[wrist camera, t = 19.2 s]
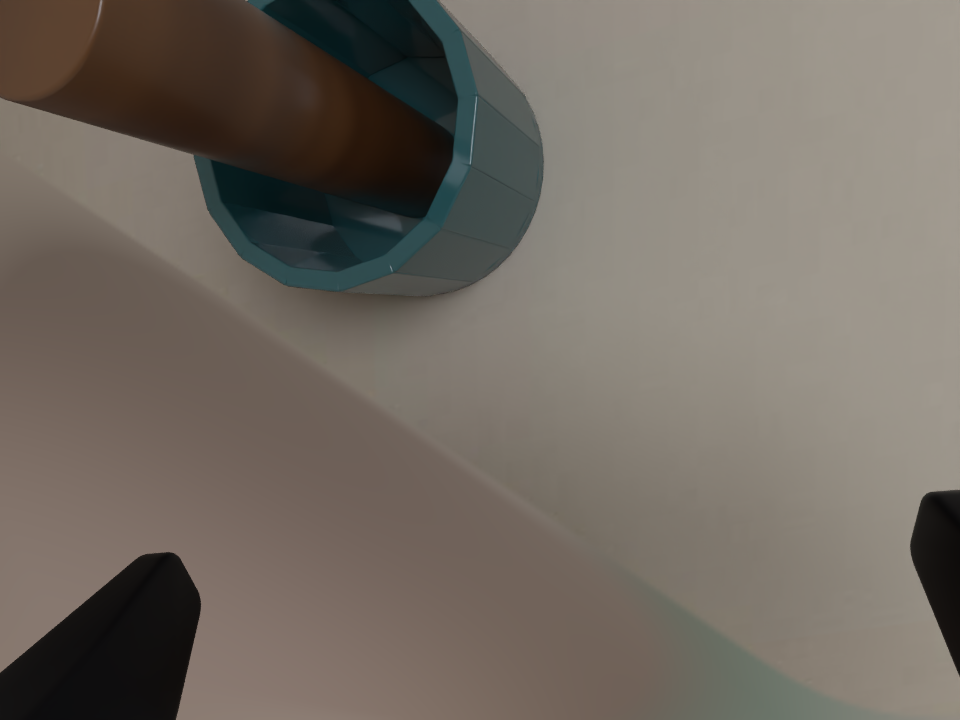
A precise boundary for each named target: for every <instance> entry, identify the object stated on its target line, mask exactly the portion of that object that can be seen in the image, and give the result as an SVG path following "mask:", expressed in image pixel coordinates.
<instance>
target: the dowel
mask: <svg viewBox="0 0 960 720" xmlns="http://www.w3.org/2000/svg"><path fill="white" fill-rule="evenodd" d="M0 97H1V98H3V99H5V100H8V101H12V102H15V103H19V104H22V105H25V106H29V107H32V108H36V109H39V110H43V111H46V112H49V113H53V114H56V115H60V116H63V117H67V118H70V119H73V120H77V121H80V122H84V123H87V124H91V125H94V126H97V127H101V128H104V129H108V130H111V131H115V132H118V133H121V134H125V135H128V136H132V137H135V138H139V139H142V140H145V141H149V142H152V143H156V144H159V145H163V146H166V147H169V148H173V149H176V150H180V151H183V152H187V153H190V154H193V155H197V156H200V157H204V158H207V159H211V160H214V161H217V162H221V163H224V164H228V165H231V166H235V167H238V168H241V169H245V170H248V171H252V172H255V173H259V174H262V175H265V176H269V177H272V178H276V179H279V180H283V181H286V182H289V183H293V184H296V185H300V186H303V187H307V188H310V189H313V190H317V191H320V192H324V193H327V194H331V195H334V196H337V197H341V198H344V199H348V200H351V201H355V202H358V203H361V204H365V205H368V206H372V207H375V208H379V209H382V210H385V211H389V212H392V213H396V214H399V215H403V216H406V217H412V218H419V217H425V216H426V214H427V212H428V210H429V208H430V206H431V204H432V202H433V200H434V198H435V196H436V193H437V191H438V189H439V187H440V185H441V183H442V181H443V179H444V177H445V175H446V172H447V170H448V168H449V166H450V164H451V162H452V155H453V145H454V138H453V136H452V135H451V134H450V133H449V132H448V131H447V130H446V129H445V128H444V127H442V126H441V125H439V124H438V123H436V122H435V121H433V120H431V119H430V118H428V117H427V116H425V115H424V114H422V113H421V112H419V111H417V110H416V109H414V108H413V107H411V106H410V105H408V104H406V103H405V102H403V101H402V100H400V99H399V98H397V97H396V96H394V95H392V94H391V93H389V92H388V91H386V90H385V89H383V88H381V87H380V86H378V85H377V84H375V83H374V82H372V81H370V80H369V79H367V78H366V77H364V76H363V75H361V74H360V73H358V72H356V71H355V70H353V69H352V68H350V67H349V66H347V65H345V64H344V63H342V62H341V61H339V60H338V59H336V58H335V57H333V56H331V55H330V54H328V53H327V52H325V51H324V50H322V49H320V48H319V47H317V46H316V45H314V44H313V43H311V42H309V41H308V40H306V39H305V38H303V37H302V36H300V35H299V34H297V33H295V32H294V31H292V30H291V29H289V28H288V27H286V26H284V25H283V24H281V23H280V22H278V21H277V20H275V19H274V18H272V17H270V16H269V15H267V14H266V13H264V12H263V11H261V10H259V9H258V8H256V7H255V6H253V5H252V4H250V3H248V2H247V1H245V0H0Z"/></svg>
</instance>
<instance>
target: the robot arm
mask: <svg viewBox="0 0 960 720" xmlns="http://www.w3.org/2000/svg"><path fill="white" fill-rule="evenodd" d="M910 550H911V556H912V560H913V563H914V566H915V569H916V571H917V573H918V576H919V578H920V581H921V583H922V586H923V588H924V591H925V593H926V595H927V598H928V600H929V603H930V605H931V608H932V610H933V613H934V615H935V618H936V620H937V622H938V625H939V627H940V630H941V632H942V635H943V637H944V640H945V642H946V644H947V647H948V649H949V652H950V654H951V657H952V659H953V662H954V664H955V666H956V669H957V671H958V674H959V676H960V490H950V491H937V492H930V493H927V494H926V495H925V496H924V497H923V498H922V500H921V503H920V507H919V511H918V515H917V518H916V522H915V526H914V530H913V534H912V538H911V544H910ZM200 610H201V601H200V596H199V593H198V590H197V588H196V587H195V585H194V583H193V581H192V579H191V577H190V576H189V574H188V572H187V570H186V568H185V566H184V565H183V563H182V561H181V559H180V558H179V557H178V556H177V555H175V554H174V553H170V552H166V553H154V554H145V555H142V556H140V557H138V558H137V559H136V560H134V561H133V562H132V563H131V564H130V565H129V566H127V567H126V568H125V569H124V570H122V571H121V572H120V573H119V574H118V575H117V576H115V577H114V578H113V579H112V580H111V581H109V582H108V583H107V584H106V585H105V586H103V587H102V588H101V589H100V590H99V591H97V592H96V593H95V594H94V595H93V596H91V597H90V598H89V599H88V600H87V601H85V602H84V603H83V604H82V605H81V606H79V607H78V608H77V609H76V610H75V611H73V612H72V613H71V614H70V615H69V616H68V617H66V618H65V619H64V620H63V621H62V622H60V623H59V624H58V625H57V626H56V627H54V629H52V630H51V631H50V632H48V633H47V634H46V635H45V636H44V637H42V638H41V639H40V640H39V641H38V642H36V643H35V644H34V645H33V646H32V647H31V648H29V649H28V650H27V651H26V652H25V653H23V654H22V655H21V656H20V657H19V658H17V659H16V660H15V661H14V662H13V663H12V664H10V665H9V666H8V667H7V668H6V669H4V670H3V671H2V672H1V673H0V720H176V716H177V713H178V709H179V704H180V700H181V695H182V691H183V687H184V682H185V677H186V673H187V669H188V665H189V660H190V656H191V651H192V647H193V643H194V638H195V633H196V629H197V625H198V620H199V616H200Z"/></svg>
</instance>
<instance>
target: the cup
mask: <svg viewBox="0 0 960 720" xmlns="http://www.w3.org/2000/svg"><path fill="white" fill-rule="evenodd" d="M247 2H248V3H250V4H252V5H253V6H255V7H256V8H258V9H259V10H261V11H263V12H264V13H266V14H267V15H269V16H270V17H272V18H274V19H275V20H277V21H278V22H280V23H281V24H283V25H284V26H286V27H288V28H289V29H291V30H292V31H294V32H295V33H297V34H299V35H300V36H302V37H303V38H305V39H306V40H308V41H309V42H311V43H313V44H314V45H316V46H317V47H319V48H320V49H322V50H324V51H325V52H327V53H328V54H330V55H331V56H333V57H335V58H336V59H338V60H339V61H341V62H342V63H344V64H345V65H347V66H349V67H350V68H352V69H353V70H355V71H356V72H358V73H360V74H361V75H363V76H364V77H366V78H367V79H369V80H370V81H372V82H374V83H375V84H377V85H378V86H380V87H381V88H383V89H385V90H386V91H388V92H389V93H391V94H392V95H394V96H396V97H397V98H399V99H400V100H402V101H403V102H405V103H406V104H408V105H410V106H411V107H413V108H414V109H416V110H417V111H419V112H421V113H422V114H424V115H425V116H427V117H428V118H430V119H431V120H433V121H435V122H436V123H438V124H439V125H441V126H442V127H444V128H445V129H446V130H447V131H448V132H449V133H450V134H451V135H452V136H453V138H454V145H453V155H452V162H451V164H450V166H449V168H448V170H447V172H446V175H445V177H444V179H443V181H442V183H441V185H440V187H439V189H438V191H437V193H436V196H435V198H434V200H433V202H432V204H431V206H430V208H429V210H428V212H427V214H426V216H425V217H419V218H412V217H406V216H403V215H399V214H396V213H392V212H389V211H385V210H382V209H379V208H375V207H372V206H368V205H365V204H361V203H358V202H355V201H351V200H348V199H344V198H341V197H337V196H334V195H331V194H327V193H324V192H320V191H317V190H313V189H310V188H307V187H303V186H300V185H296V184H293V183H289V182H286V181H283V180H279V179H276V178H272V177H269V176H265V175H262V174H259V173H255V172H252V171H248V170H245V169H241V168H238V167H235V166H231V165H228V164H224V163H221V162H217V161H214V160H211V159H207V158H204V157H200V156H197V155H194V160H195V164H196V168H197V171H198V175H199V179H200V183H201V186H202V190H203V194H204V198H205V202H206V205H207V209H208V211H209V213H210V215H211V216H212V218H213V219H214V220H215V222H216V223H217V225H218V226H219V228H220V229H221V230H222V232H223V233H224V235H225V236H226V238H227V239H228V241H229V242H230V243H231V245H232V246H233V248H234V249H235V251H236V252H237V253H238V255H239V256H240V257H241V258H242V259H243V260H245V261H247V262H248V263H250V264H251V265H253V266H255V267H256V268H258V269H259V270H261V271H263V272H264V273H266V274H267V275H269V276H271V277H272V278H274V279H275V280H277V281H279V282H280V283H282V284H283V285H287V286H288V287H297V288H306V289H315V290H324V291H333V292H346V293H367V294H387V295H407V296H432V295H435V294H444V293H448V292H452V291H456V290H459V289H461V288H464V287H466V286H469V285H471V284H473V283H475V282H476V281H478V280H480V279H482V278H483V277H485V276H486V275H488V274H489V273H490V272H492V271H493V270H494V269H496V268H497V267H498V266H499V265H500V264H501V263H502V262H503V261H504V260H505V259H506V258H507V257H508V256H509V255H510V254H511V252H512V251H513V250H514V249H515V247H516V246H517V245H518V243H519V242H520V240H521V239H522V237H523V235H524V234H525V232H526V230H527V229H528V227H529V224H530V222H531V220H532V218H533V215H534V213H535V210H536V207H537V203H538V200H539V197H540V192H541V186H542V180H543V162H544V161H543V148H542V141H541V136H540V132H539V127H538V124H537V122H536V119H535V116H534V113H533V111H532V109H531V107H530V105H529V103H528V101H527V99H526V97H525V95H524V94H523V93H522V92H521V90H520V89H519V87H518V86H517V85H516V84H515V82H514V81H513V80H512V79H511V78H510V77H509V76H508V75H507V73H506V72H505V71H504V70H503V68H502V67H501V66H500V65H499V64H498V62H497V61H496V60H495V59H494V58H493V57H492V56H491V55H490V54H489V53H488V52H487V50H486V49H485V48H484V47H483V46H482V45H481V44H480V43H479V42H478V41H477V40H476V39H475V38H474V37H473V36H472V35H471V33H470V32H469V31H468V30H467V29H466V28H465V27H464V26H463V25H462V24H461V23H460V22H459V21H458V20H457V19H456V18H455V16H454V15H453V14H452V13H451V12H450V11H449V10H448V9H447V8H446V7H445V6H444V5H443V4H442V3H441V2H440V0H248V1H247Z"/></svg>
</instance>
